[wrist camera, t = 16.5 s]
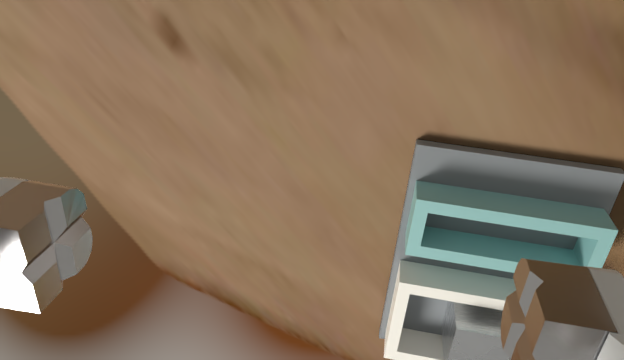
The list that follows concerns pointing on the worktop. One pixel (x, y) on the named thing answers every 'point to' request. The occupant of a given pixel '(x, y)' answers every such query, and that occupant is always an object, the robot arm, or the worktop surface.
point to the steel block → (472, 333)
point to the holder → (486, 233)
